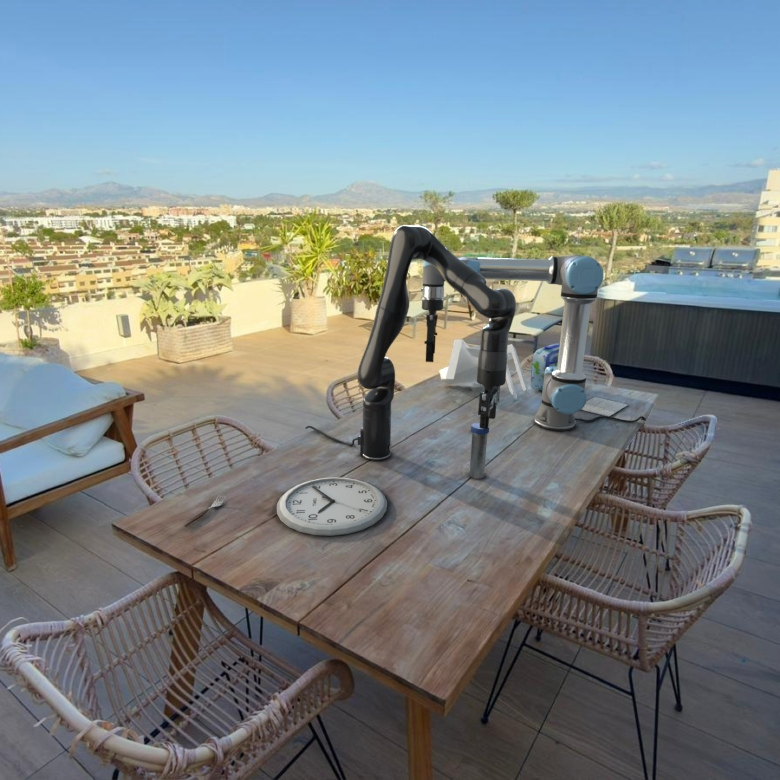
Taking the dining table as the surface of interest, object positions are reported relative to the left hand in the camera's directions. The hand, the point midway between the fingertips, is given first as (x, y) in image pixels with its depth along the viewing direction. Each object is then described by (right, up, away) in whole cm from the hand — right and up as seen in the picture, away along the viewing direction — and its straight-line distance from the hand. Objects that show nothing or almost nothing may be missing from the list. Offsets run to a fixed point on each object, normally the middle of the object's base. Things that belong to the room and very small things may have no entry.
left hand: (487, 423), depth 143 cm
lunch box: (+51, +10, +109) cm, 121 cm away
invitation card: (+65, +2, +83) cm, 106 cm away
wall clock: (-42, -22, 0) cm, 48 cm away
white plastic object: (+15, +8, +100) cm, 102 cm away
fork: (-75, -23, -5) cm, 79 cm away
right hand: (-12, +21, +47) cm, 53 cm away
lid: (0, -2, +14) cm, 14 cm away
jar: (0, -17, +19) cm, 25 cm away
